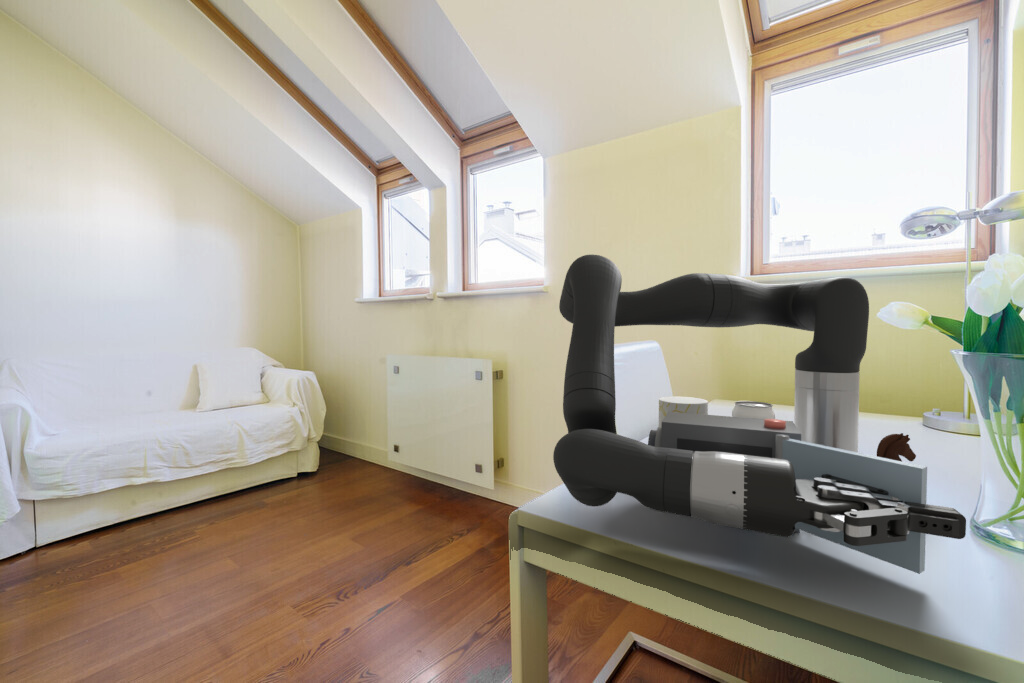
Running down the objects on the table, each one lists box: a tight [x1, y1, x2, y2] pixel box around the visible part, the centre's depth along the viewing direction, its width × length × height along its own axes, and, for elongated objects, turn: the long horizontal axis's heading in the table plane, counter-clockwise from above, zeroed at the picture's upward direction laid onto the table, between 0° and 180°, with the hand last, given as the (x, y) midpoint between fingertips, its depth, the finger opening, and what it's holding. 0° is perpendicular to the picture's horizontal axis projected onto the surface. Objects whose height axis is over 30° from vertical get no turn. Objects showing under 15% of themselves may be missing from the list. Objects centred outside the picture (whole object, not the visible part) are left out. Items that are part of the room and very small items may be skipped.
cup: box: [658, 395, 709, 427], centre depth 78 cm, size 8×8×12 cm
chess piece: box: [876, 432, 917, 462], centre depth 61 cm, size 5×5×10 cm
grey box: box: [647, 412, 801, 534], centre depth 61 cm, size 8×18×13 cm, turn 64°
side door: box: [775, 434, 928, 575], centre depth 48 cm, size 2×14×11 cm, turn 30°
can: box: [731, 400, 776, 419], centre depth 74 cm, size 6×6×12 cm
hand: (961, 524), depth 39 cm, fingers closed
